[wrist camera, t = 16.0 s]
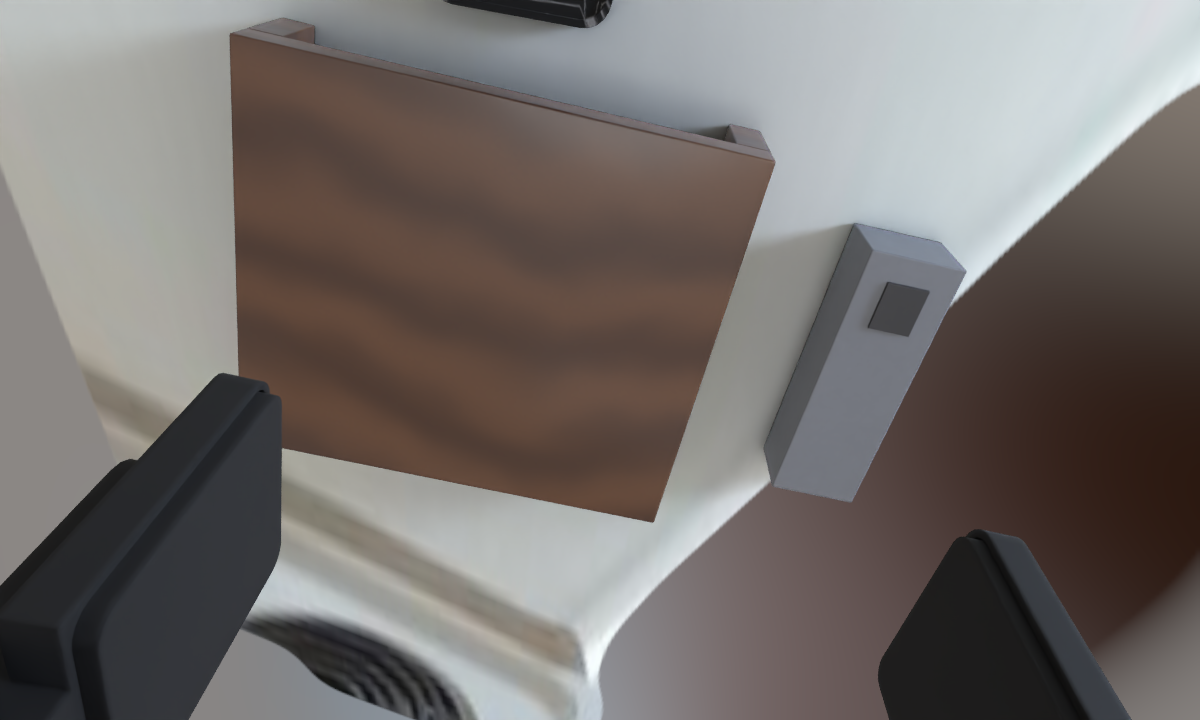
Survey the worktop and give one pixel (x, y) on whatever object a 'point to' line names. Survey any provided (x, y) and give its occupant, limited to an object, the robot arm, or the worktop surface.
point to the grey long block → (859, 360)
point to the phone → (547, 10)
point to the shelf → (478, 271)
